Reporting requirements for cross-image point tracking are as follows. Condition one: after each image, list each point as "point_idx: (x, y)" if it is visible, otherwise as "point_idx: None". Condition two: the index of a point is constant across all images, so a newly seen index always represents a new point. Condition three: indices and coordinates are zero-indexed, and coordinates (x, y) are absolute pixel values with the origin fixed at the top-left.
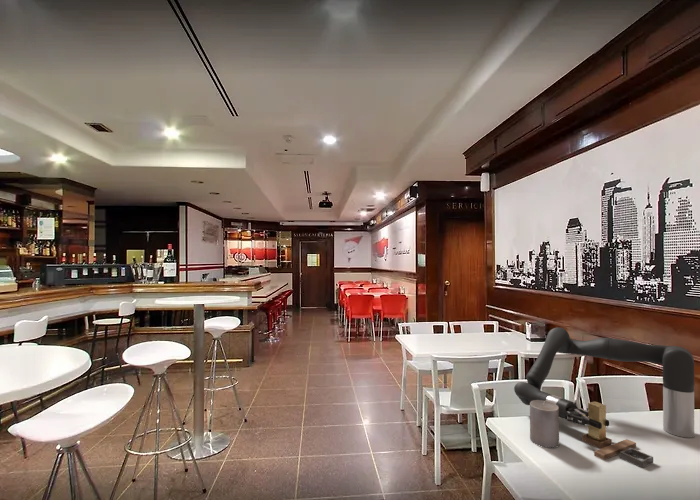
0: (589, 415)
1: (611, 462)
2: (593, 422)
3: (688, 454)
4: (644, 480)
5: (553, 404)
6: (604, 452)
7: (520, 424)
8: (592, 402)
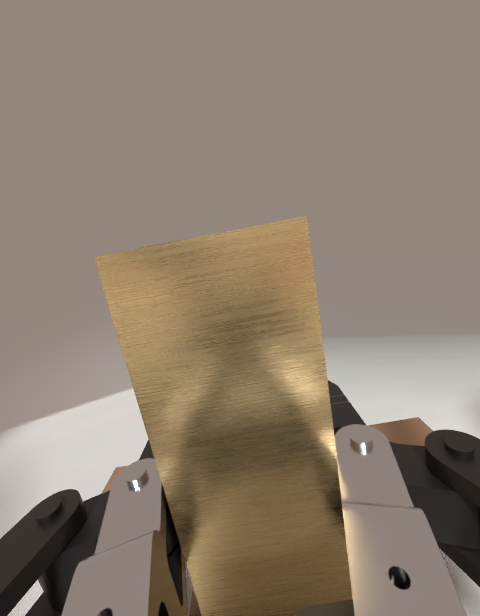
0: (326, 412)
1: (386, 420)
2: (349, 402)
3: (67, 415)
4: (348, 359)
5: None
6: (388, 434)
7: None
8: (190, 239)
